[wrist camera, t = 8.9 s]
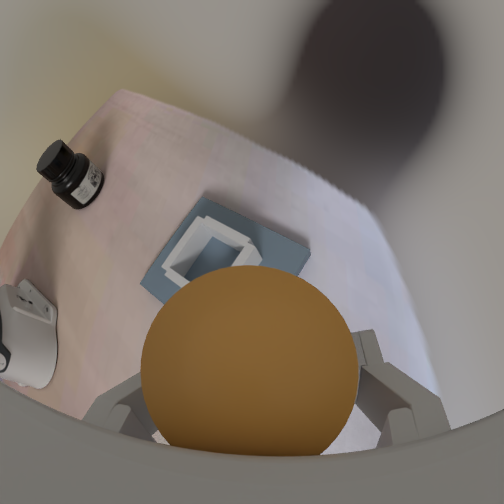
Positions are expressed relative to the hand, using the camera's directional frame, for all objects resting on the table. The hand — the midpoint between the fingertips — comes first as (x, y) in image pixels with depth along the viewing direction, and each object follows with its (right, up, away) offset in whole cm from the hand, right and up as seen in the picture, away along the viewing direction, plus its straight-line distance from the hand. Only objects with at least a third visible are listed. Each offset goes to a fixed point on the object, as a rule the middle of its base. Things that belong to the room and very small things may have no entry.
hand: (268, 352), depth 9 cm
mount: (-4, +1, +24) cm, 25 cm away
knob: (+1, -2, +4) cm, 5 cm away
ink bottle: (-32, +15, +38) cm, 52 cm away
